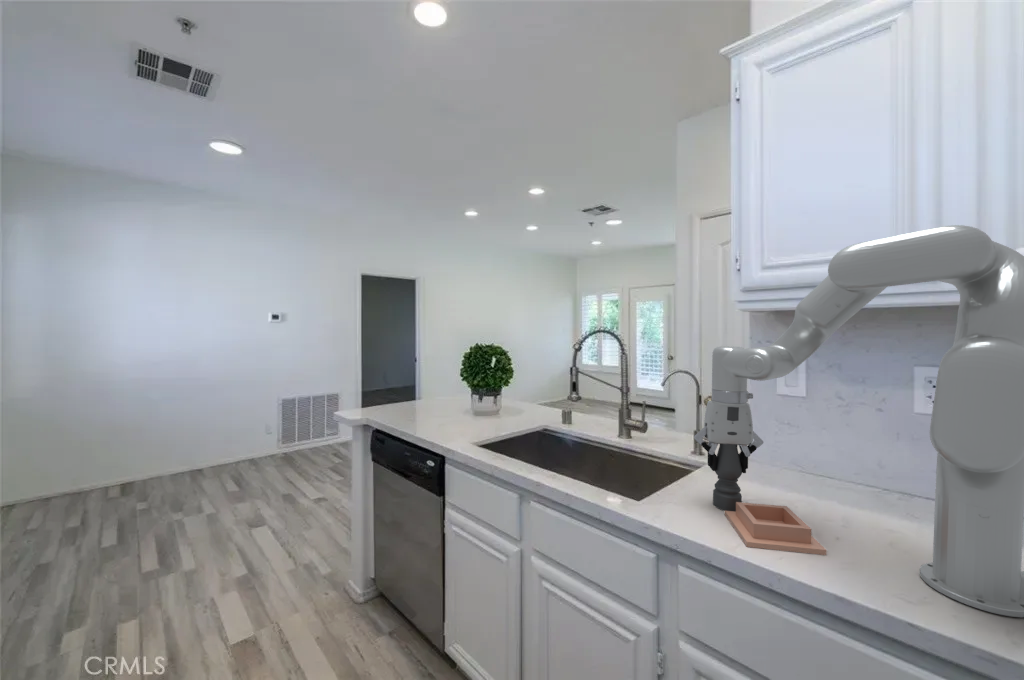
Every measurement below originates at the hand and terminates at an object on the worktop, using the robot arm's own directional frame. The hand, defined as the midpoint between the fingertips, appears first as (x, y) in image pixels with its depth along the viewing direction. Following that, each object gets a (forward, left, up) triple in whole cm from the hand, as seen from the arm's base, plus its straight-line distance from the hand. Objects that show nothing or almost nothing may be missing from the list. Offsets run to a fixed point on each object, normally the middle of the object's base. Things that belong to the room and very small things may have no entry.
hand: (727, 469), depth 98 cm
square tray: (-5, +12, -9) cm, 16 cm away
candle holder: (0, 0, -9) cm, 9 cm away
